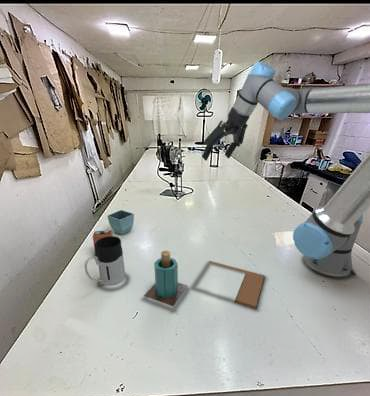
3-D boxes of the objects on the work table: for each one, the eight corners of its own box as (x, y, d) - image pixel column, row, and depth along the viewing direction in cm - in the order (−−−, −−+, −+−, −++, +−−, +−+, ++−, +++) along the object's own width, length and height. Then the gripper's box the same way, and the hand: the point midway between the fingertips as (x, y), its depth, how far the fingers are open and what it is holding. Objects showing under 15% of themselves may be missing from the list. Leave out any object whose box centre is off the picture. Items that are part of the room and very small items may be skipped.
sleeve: (180, 287, 74) (180, 260, 70) (170, 300, 69) (170, 272, 65) (162, 281, 76) (162, 255, 72) (152, 293, 71) (150, 266, 67)
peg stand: (188, 289, 75) (188, 248, 69) (173, 310, 67) (172, 266, 61) (161, 280, 79) (159, 241, 73) (144, 299, 71) (140, 257, 65)
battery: (113, 255, 93) (110, 232, 89) (95, 256, 92) (91, 234, 88) (114, 249, 97) (111, 227, 93) (97, 250, 96) (93, 228, 92)
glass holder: (132, 277, 81) (128, 238, 74) (102, 304, 69) (95, 261, 63) (112, 270, 84) (107, 233, 78) (81, 295, 72) (71, 253, 66)
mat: (264, 277, 81) (264, 275, 81) (255, 308, 68) (256, 306, 68) (209, 263, 89) (209, 260, 89) (192, 288, 76) (192, 286, 75)
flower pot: (122, 238, 106) (120, 219, 103) (108, 233, 111) (106, 215, 107) (135, 230, 113) (134, 213, 109) (122, 226, 117) (121, 209, 114)
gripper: (256, 107, 95) (230, 150, 110) (211, 102, 81) (188, 153, 96) (268, 117, 92) (240, 161, 107) (223, 115, 77) (198, 165, 93)
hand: (215, 157), depth 101 cm, fingers open, 13 cm apart
